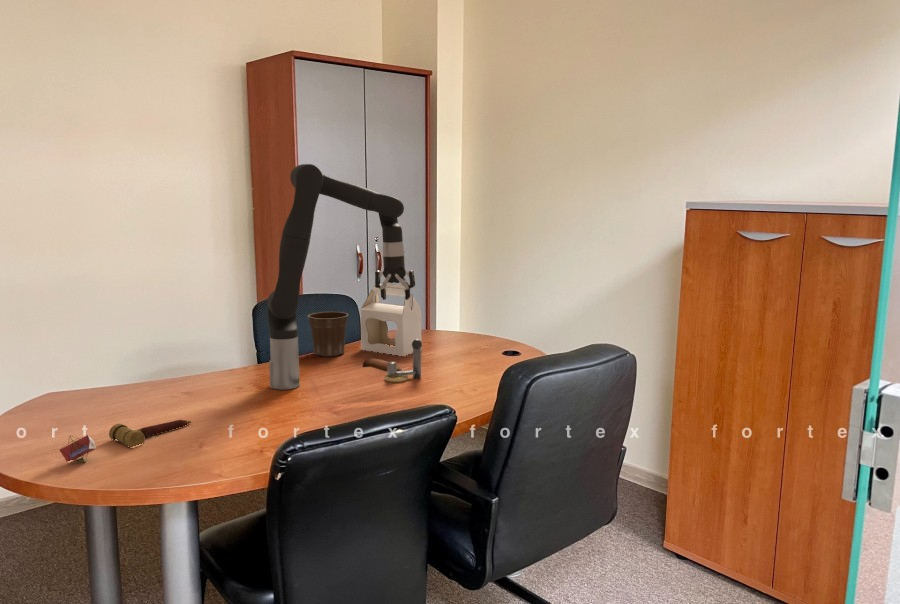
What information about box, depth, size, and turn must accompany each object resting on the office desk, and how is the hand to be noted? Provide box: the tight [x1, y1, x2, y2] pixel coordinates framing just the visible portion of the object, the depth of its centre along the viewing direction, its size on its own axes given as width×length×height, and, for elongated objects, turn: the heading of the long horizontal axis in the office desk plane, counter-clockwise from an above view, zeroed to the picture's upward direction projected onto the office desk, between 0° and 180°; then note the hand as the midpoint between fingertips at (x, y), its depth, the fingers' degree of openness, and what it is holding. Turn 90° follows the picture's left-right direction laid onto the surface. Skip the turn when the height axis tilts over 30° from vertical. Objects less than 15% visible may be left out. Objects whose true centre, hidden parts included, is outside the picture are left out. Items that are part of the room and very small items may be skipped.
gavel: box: [108, 419, 192, 448], centre depth 186 cm, size 21×5×10 cm
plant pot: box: [307, 311, 349, 358], centre depth 277 cm, size 16×16×16 cm
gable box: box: [360, 282, 422, 357], centre depth 282 cm, size 22×13×28 cm, turn 58°
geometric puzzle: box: [59, 434, 96, 462], centre depth 167 cm, size 7×7×8 cm
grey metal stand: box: [384, 339, 423, 384], centre depth 235 cm, size 13×8×14 cm, turn 111°
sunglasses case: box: [362, 358, 403, 372], centre depth 253 cm, size 18×7×7 cm
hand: (395, 299), depth 245 cm, fingers open, 8 cm apart
